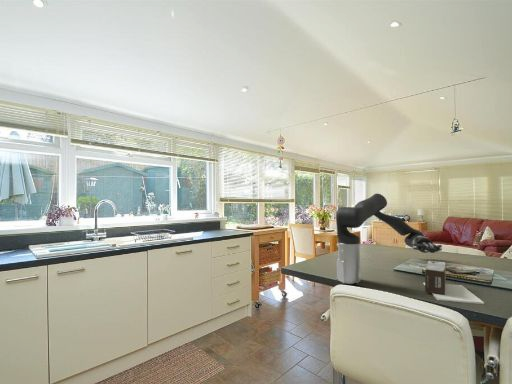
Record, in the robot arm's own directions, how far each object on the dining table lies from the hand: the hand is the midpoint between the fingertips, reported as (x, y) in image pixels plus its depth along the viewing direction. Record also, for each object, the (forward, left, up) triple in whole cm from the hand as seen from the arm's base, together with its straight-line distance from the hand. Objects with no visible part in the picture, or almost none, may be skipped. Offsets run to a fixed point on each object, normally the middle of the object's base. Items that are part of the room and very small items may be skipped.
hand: (433, 250), depth 122 cm
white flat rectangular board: (-10, -17, -12) cm, 23 cm away
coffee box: (-6, -7, -7) cm, 12 cm away
